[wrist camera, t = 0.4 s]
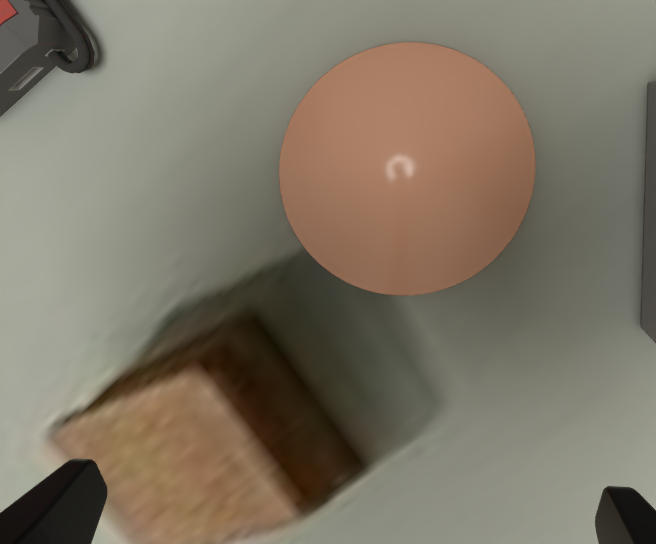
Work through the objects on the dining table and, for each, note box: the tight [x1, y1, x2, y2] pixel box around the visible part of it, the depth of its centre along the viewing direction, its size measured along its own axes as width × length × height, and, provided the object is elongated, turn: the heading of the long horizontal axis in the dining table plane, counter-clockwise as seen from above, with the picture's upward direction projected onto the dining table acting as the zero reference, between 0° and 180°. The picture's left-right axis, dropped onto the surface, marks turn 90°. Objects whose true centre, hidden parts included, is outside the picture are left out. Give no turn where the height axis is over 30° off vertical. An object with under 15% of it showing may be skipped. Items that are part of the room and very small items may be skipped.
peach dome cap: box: [279, 42, 535, 296], centre depth 20 cm, size 10×10×1 cm
